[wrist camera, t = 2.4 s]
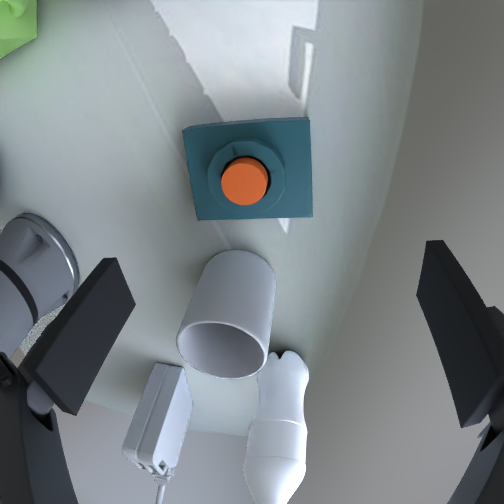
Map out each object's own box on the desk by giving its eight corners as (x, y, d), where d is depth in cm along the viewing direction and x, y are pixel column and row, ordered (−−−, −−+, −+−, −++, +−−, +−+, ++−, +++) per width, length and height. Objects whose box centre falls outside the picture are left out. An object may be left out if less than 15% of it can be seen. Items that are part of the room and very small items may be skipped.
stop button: (228, 198, 27) (224, 206, 26) (222, 158, 25) (218, 164, 24) (269, 196, 27) (267, 204, 25) (266, 156, 25) (264, 161, 23)
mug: (202, 244, 34) (169, 311, 25) (280, 253, 34) (273, 327, 24) (205, 321, 41) (182, 389, 31) (269, 331, 40) (260, 402, 31)
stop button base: (203, 211, 32) (192, 229, 29) (189, 126, 27) (174, 134, 24) (311, 207, 30) (313, 226, 27) (308, 116, 26) (310, 122, 22)
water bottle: (252, 367, 45) (223, 528, 24) (270, 339, 41) (245, 525, 20) (295, 379, 45) (282, 535, 24) (318, 354, 41) (313, 531, 20)
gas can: (196, 410, 55) (166, 524, 34) (172, 406, 56) (138, 516, 34) (184, 366, 47) (138, 509, 26) (156, 360, 47) (103, 496, 26)
